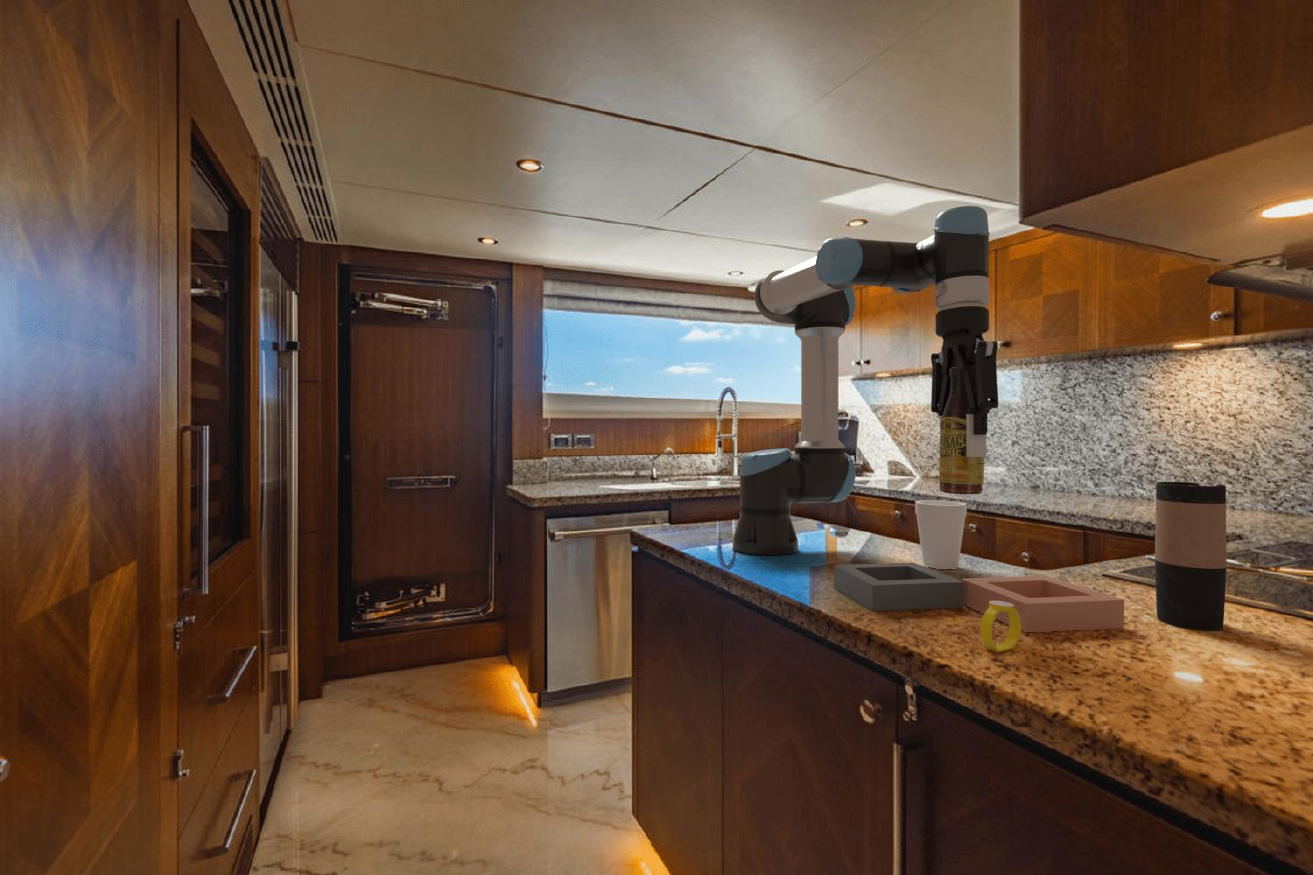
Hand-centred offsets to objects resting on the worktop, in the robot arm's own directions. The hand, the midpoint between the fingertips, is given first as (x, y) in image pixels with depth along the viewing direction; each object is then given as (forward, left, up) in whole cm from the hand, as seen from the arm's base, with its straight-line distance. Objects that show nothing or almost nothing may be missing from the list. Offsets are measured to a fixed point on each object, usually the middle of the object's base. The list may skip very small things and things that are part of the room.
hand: (962, 456), depth 93 cm
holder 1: (-6, -8, -24) cm, 26 cm away
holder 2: (+6, +8, -24) cm, 26 cm away
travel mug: (+12, +27, -24) cm, 38 cm away
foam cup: (-26, +13, -24) cm, 38 cm away
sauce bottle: (0, 0, -6) cm, 6 cm away
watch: (+18, -7, -24) cm, 30 cm away
